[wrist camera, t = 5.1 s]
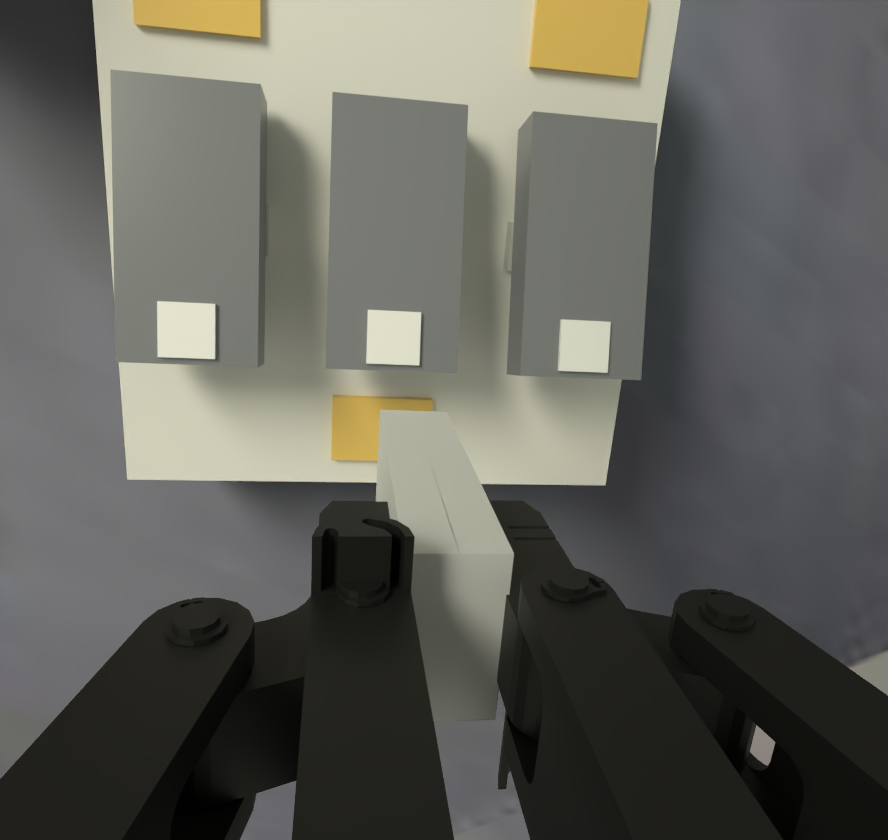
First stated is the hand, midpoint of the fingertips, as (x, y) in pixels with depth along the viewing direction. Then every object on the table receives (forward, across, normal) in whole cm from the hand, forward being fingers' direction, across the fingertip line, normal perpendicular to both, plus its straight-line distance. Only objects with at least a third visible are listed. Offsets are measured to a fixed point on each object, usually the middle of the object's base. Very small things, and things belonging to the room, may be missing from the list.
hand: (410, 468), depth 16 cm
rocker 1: (+8, -6, +4) cm, 11 cm away
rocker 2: (+8, 0, +4) cm, 9 cm away
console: (+16, 0, +5) cm, 16 cm away
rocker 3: (+8, +6, +4) cm, 11 cm away
